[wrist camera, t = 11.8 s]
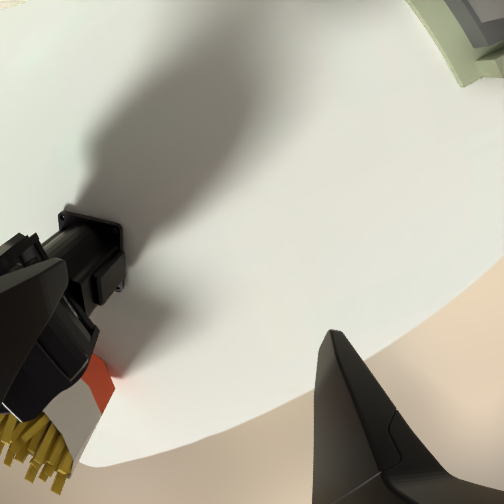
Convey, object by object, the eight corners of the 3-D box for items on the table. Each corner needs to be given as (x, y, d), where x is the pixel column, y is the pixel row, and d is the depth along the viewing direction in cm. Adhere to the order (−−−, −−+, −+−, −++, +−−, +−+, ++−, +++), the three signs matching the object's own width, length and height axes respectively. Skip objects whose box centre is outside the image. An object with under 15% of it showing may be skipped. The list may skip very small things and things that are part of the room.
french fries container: (50, 319, 30) (-32, 431, 14) (124, 372, 32) (62, 500, 17) (46, 337, 32) (-25, 440, 17) (114, 385, 34) (59, 500, 19)
